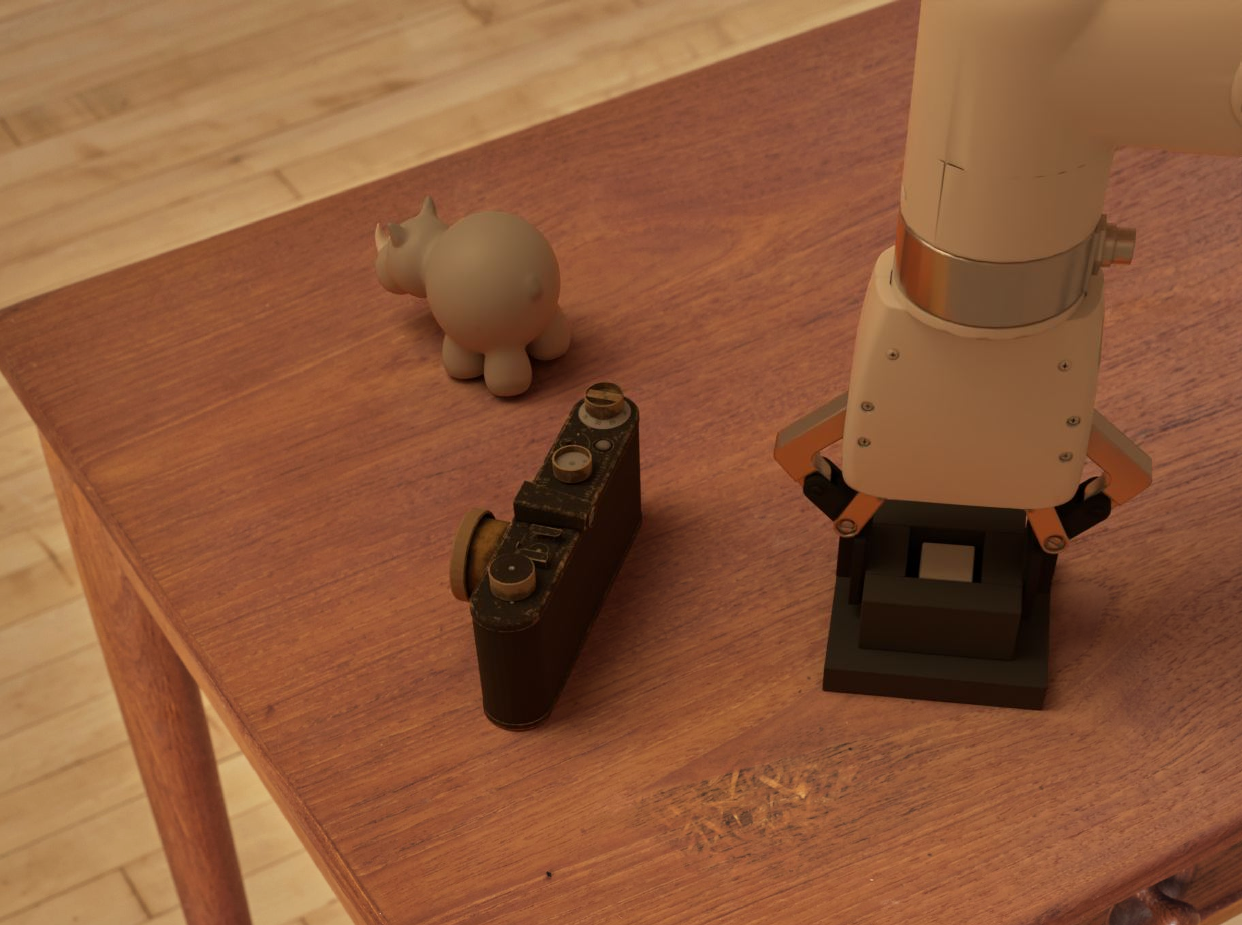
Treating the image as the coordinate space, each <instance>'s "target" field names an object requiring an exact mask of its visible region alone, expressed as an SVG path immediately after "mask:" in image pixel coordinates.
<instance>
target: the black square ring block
mask: <svg viewBox="0 0 1242 925" xmlns="http://www.w3.org/2000/svg"><path fill="white" fill-rule="evenodd" d="M1026 524H1027V515H1026V513H1025V511H1024V509H1017V508H1000V507H984V506H971V505H957V504H944V503H932V502H919V501H909V500H898V499H888V498H887V499H886V500H885V501H884V503H883V504H882V505H881V506H880V507H879V509H878V510H877V511H876V512H875V514H874V516H873V525H872V534H871V542H870V550H869V558H868V567H867V570H866V572H865V580H864V589H863V597H862V606H861V615H860V625H859V634H858V644H857V646H858V648H868V649H879V650H891V651H902V652H914V653H925V654H937V655H948V656H960V657H971V658H983V659H995V660H1006V661H1011V660H1012V658H1013V653H1014V648H1015V643H1016V638H1017V633H1018V628H1019V623H1020V618H1021V612H1022V591H1023V588H1022V587H1023V582H1022V563H1023V543H1024V534H1025V529H1026ZM923 543H937V544H950V545H963V546H974V547H975V554H974V568H973V579H976V580H977V583H973V582H961V581H948V580H936V579H923V578H911V577H905V576H906V574H913V575H918V571H919V564H920V557H921V549H922V544H923Z"/></svg>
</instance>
